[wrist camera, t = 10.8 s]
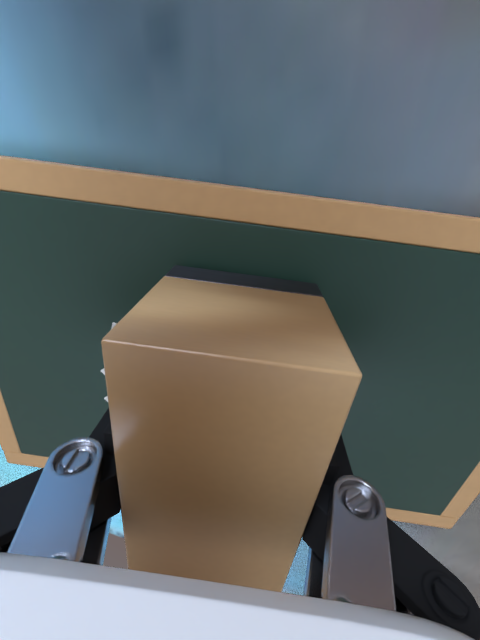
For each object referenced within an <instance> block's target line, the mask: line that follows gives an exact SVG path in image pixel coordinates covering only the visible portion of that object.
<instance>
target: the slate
mask: <svg viewBox="0 0 480 640" xmlns="http://www.w3.org/2000/svg"><path fill="white" fill-rule="evenodd" d="M175 265H179V266H187V267H194V268H202V269H209V270H217V271H225V272H232V273H240V274H247V275H255V276H263V277H270V278H278V279H285V280H293V281H301V282H308V283H316V284H317V285H318V287H319V289H320V291H321V293H322V295H323V298H324V299H325V301H326V303H327V305H328V307H329V309H330V311H331V313H332V315H333V317H334V319H335V321H336V323H337V325H338V327H339V329H340V331H341V333H342V335H343V337H344V339H345V341H346V343H347V345H348V347H349V349H350V351H351V353H352V355H353V357H354V359H355V361H356V363H357V365H358V367H359V369H360V371H361V373H362V379H361V382H360V384H359V387H358V390H357V392H356V395H355V398H354V400H353V403H352V406H351V408H350V411H349V414H348V416H347V419H346V421H345V424H344V427H343V429H342V432H341V435H342V438H343V442H344V445H345V448H346V452H347V455H348V459H349V462H350V465H351V469H352V472H353V475H354V476H358V477H361V478H363V479H365V480H366V481H368V482H369V483H370V484H372V485H373V486H374V487H375V488H376V489H377V491H378V492H379V493H380V495H381V496H382V498H383V500H384V503H385V507H386V515H387V517H388V518H389V519H390V520H394V521H400V522H407V523H414V524H420V525H427V526H434V527H440V528H447V529H451V528H452V527H453V526H454V524H455V523H456V522H457V521H458V518H460V517H461V516H462V514H463V513H464V512H465V511H466V509H467V508H468V507H469V506H470V504H471V503H472V502H473V500H474V499H475V498H476V497H477V495H478V494H479V493H480V218H479V217H471V216H463V215H456V214H448V213H440V212H433V211H425V210H417V209H410V208H402V207H394V206H387V205H379V204H371V203H364V202H356V201H348V200H341V199H333V198H325V197H318V196H310V195H302V194H295V193H287V192H279V191H272V190H264V189H256V188H249V187H241V186H233V185H226V184H218V183H210V182H203V181H195V180H187V179H180V178H172V177H164V176H156V175H149V174H141V173H133V172H126V171H118V170H110V169H103V168H95V167H87V166H80V165H72V164H64V163H57V162H49V161H41V160H34V159H26V158H18V157H11V156H3V155H0V444H1V447H2V450H4V454H5V457H6V459H7V462H8V463H13V464H20V465H27V466H33V467H40V468H44V467H45V464H46V462H47V460H48V458H49V456H50V455H51V453H52V452H53V451H54V450H55V449H56V448H57V447H58V446H60V445H61V444H63V443H64V442H66V441H69V440H71V439H74V438H79V437H89V436H90V435H91V433H92V432H93V430H94V429H95V427H96V426H97V424H98V423H99V421H100V420H101V418H102V417H103V415H104V414H105V412H106V411H107V409H108V408H109V404H108V396H107V387H106V379H105V371H104V362H103V354H102V345H101V341H102V338H103V337H104V336H105V335H106V334H107V333H108V332H109V331H110V330H111V329H112V328H113V327H114V326H115V325H116V324H117V323H118V322H119V321H120V320H121V319H122V318H123V317H124V316H125V315H126V314H127V313H128V312H129V311H130V310H131V309H132V308H133V307H134V306H135V305H136V304H137V303H138V302H139V301H140V300H141V299H142V298H143V297H144V296H145V295H146V294H147V293H148V292H149V291H150V290H151V289H152V288H153V287H154V286H155V285H156V284H157V283H158V282H159V281H160V280H161V279H162V278H163V277H164V276H165V275H166V274H167V273H168V272H169V271H170V270H171V269H172V268H173V267H174V266H175Z"/></svg>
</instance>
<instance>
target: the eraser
mask: <svg viewBox="0 0 480 640" xmlns="http://www.w3.org/2000/svg"><path fill="white" fill-rule="evenodd" d="M101 345H102V354H103V362H104V371H105V379H106V387H107V396H108V404H109V413H110V421H111V429H112V438H113V446H114V454H115V463H116V471H117V480H118V488H119V496H120V505H121V513H122V522H123V530H124V538H125V546H126V555H127V563H128V569H130V570H137V571H144V572H151V573H157V574H164V575H171V576H177V577H184V578H191V579H198V580H204V581H211V582H217V583H224V584H231V585H237V586H244V587H250V588H257V589H263V590H270V591H276V592H281V591H282V588H283V586H284V583H285V580H286V578H287V575H288V573H289V570H290V567H291V565H292V562H293V559H294V557H295V554H296V551H297V549H298V546H299V543H300V541H301V538H302V535H303V533H304V530H305V527H306V525H307V522H308V520H309V517H310V514H311V512H312V509H313V506H314V504H315V501H316V498H317V496H318V493H319V490H320V488H321V485H322V482H323V480H324V477H325V474H326V472H327V469H328V467H329V464H330V461H331V459H332V456H333V453H334V451H335V448H336V445H337V443H338V440H339V437H340V435H341V432H342V429H343V427H344V424H345V421H346V419H347V416H348V414H349V411H350V408H351V406H352V403H353V400H354V398H355V395H356V392H357V390H358V387H359V384H360V382H361V379H362V373H361V371H360V369H359V367H358V365H357V363H356V361H355V359H354V357H353V355H352V353H351V351H350V349H349V347H348V345H347V343H346V341H345V339H344V337H343V335H342V333H341V331H340V329H339V327H338V325H337V323H336V321H335V319H334V317H333V315H332V313H331V311H330V309H329V307H328V305H327V303H326V301H325V299H324V298H323V295H322V293H321V291H320V289H319V287H318V285H317V284H316V283H308V282H301V281H293V280H285V279H278V278H270V277H263V276H255V275H247V274H240V273H232V272H225V271H217V270H209V269H202V268H194V267H187V266H179V265H175V266H174V267H173V268H172V269H171V270H170V271H169V272H168V273H167V274H166V275H165V276H164V277H163V278H162V279H161V280H160V281H159V282H158V283H157V284H156V285H155V286H154V287H153V288H152V289H151V290H150V291H149V292H148V293H147V294H146V295H145V296H144V297H143V298H142V299H141V300H140V301H139V302H138V303H137V304H136V305H135V306H134V307H133V308H132V309H131V310H130V311H129V312H128V313H127V314H126V315H125V316H124V317H123V318H122V319H121V320H120V321H119V322H118V323H117V324H116V325H115V326H114V327H113V328H112V329H111V330H110V331H109V332H108V333H107V334H106V335H105V336H104V337H103V338H102V341H101Z"/></svg>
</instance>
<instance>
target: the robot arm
mask: <svg viewBox="0 0 480 640" xmlns="http://www.w3.org/2000/svg"><path fill="white" fill-rule="evenodd" d="M120 509H121V505H120V496H119V488H118V480H117V471H116V463H115V454H114V446H113V438H112V429H111V421H110V413H109V408H108V409H107V411H106V412H105V414H104V415H103V417H102V418H101V420H100V421H99V423H98V424H97V426H96V427H95V429H94V430H93V432H92V433H91V435H90V436H89V437H79V438H74V439H71V440H69V441H66V442H64V443H63V444H61V445H60V446H58V447H57V448H56V449H55V450H54V451H53V452H52V453H51V455H50V456H49V458H48V460H47V462H46V464H45V467H44V468H42V469H40V470H37V471H35V472H33V473H31V474H29V475H26V476H24V477H22V478H20V479H18V480H15V481H13V482H11V483H9V484H7V485H5V486H2V487H0V640H480V608H479V607H478V605H477V603H476V601H475V599H474V597H473V596H472V594H471V593H470V592H469V590H468V589H467V587H466V586H465V585H464V584H463V583H462V582H461V581H460V580H459V579H458V578H457V577H456V576H455V575H454V574H452V573H451V572H450V571H449V570H448V569H447V568H446V567H444V566H443V565H442V564H441V563H440V562H439V561H437V560H436V559H435V558H434V557H433V556H432V555H431V554H429V553H428V552H427V551H426V550H425V549H424V548H423V547H421V546H420V545H419V544H418V543H417V542H416V541H414V540H413V539H412V538H411V537H410V536H409V535H408V534H406V533H405V532H404V531H403V530H402V529H401V528H399V527H398V526H397V525H396V524H395V523H394V522H393V521H391V520H390V519H389V518H388V517H387V515H386V507H385V503H384V500H383V498H382V496H381V495H380V493H379V492H378V491H377V489H376V488H375V487H374V486H373V485H372V484H370V483H369V482H368V481H366V480H365V479H363V478H361V477H358V476H354V475H353V472H352V469H351V465H350V462H349V459H348V455H347V452H346V448H345V445H344V442H343V438H342V435H340V437H339V440H338V443H337V445H336V448H335V451H334V453H333V456H332V459H331V461H330V464H329V467H328V469H327V472H326V474H325V477H324V480H323V482H322V485H321V488H320V490H319V493H318V496H317V498H316V501H315V504H314V506H313V509H312V512H311V514H310V517H309V520H308V522H307V525H306V527H305V530H304V533H303V535H302V537H303V540H304V541H305V542H306V543H307V545H308V546H309V554H308V562H307V570H306V578H305V586H304V595H303V596H302V595H295V594H289V593H282V592H276V591H270V590H263V589H257V588H250V587H244V586H237V585H231V584H224V583H217V582H211V581H204V580H198V579H191V578H184V577H177V576H171V575H164V574H157V573H151V572H144V571H137V570H130V569H123V568H116V567H109V566H103V561H104V556H105V550H106V545H107V539H108V534H109V529H110V523H111V517H112V516H114V515H116V514H117V513H119V512H120Z"/></svg>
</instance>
